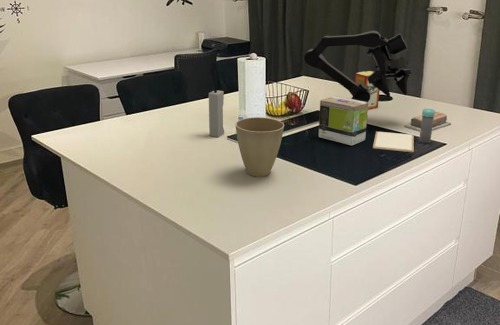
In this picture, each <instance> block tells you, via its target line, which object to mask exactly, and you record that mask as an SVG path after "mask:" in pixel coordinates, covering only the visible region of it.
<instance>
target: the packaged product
mask: <svg viewBox="0 0 500 325" xmlns="http://www.w3.org/2000/svg"><path fill="white" fill-rule="evenodd" d="M447 120H448V116H447V114H445V113H443V112H440V111H439V112H438V111H435V115H434V120H433V127H432V131H436V130H439V129H443V128H445V127H447V126H450V125H451V122H448V121H447ZM421 123H422V115H421V114H420V115H417V116H414V117H412V118H411V119H410V122H408V123H404V125H403V126H404V128H407V129H410V130H413V131H416V132H420V130H421Z"/></svg>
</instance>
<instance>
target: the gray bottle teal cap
mask: <svg viewBox="0 0 500 325" xmlns="http://www.w3.org/2000/svg"><path fill="white" fill-rule="evenodd" d="M435 112H436V109H433V108H424V109H422V123H421V130H420V131H419V139H418V142H419V143H422V144H430V143H431V139H432V127H433V120H434V115H435Z"/></svg>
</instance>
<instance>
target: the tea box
mask: <svg viewBox="0 0 500 325" xmlns="http://www.w3.org/2000/svg"><path fill="white" fill-rule="evenodd" d="M368 112H369V110H368V102H365V101H359V100H354V99H351V98H348V97H342V96H338V95H337V96H336V95H334V96H329V97H327V98H323V99H320V100H319V118H318V119H319V120H318V137H319V138H322V139H324V140H325V139H326V140H329V141H333V142H336V143H341V144H343V145H349V146H354V145H356V144H359V143H361V142H363V141H365V140H366V134H367V127H368V126H367V123H368Z"/></svg>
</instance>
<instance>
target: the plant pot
mask: <svg viewBox="0 0 500 325" xmlns="http://www.w3.org/2000/svg"><path fill="white" fill-rule="evenodd" d="M234 125H235V131H236V138H237V143H238V144H237V145H238V148H239V149H238V150H239V153H240V156H241V159H242V163H243V165H244V169H245V171H246V173H247V174H248V175H249V176H252V177H266V176H268V175H270V173H271V171H272V170H273V169H272V168H273V167H274V164H275V162H276V159H277V157H278V153H279V150H280V148H281V143H282V139H283V135H284V129H285V124H284V122H282V121H281V120H278V119H274V118H269V117H261V116H260V117H257V116H256V117H253V116H252V117H247V118H242V119H239V120H238V121H236V122H235V124H234Z"/></svg>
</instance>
